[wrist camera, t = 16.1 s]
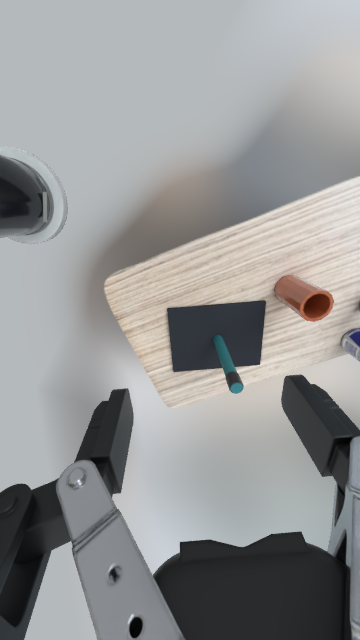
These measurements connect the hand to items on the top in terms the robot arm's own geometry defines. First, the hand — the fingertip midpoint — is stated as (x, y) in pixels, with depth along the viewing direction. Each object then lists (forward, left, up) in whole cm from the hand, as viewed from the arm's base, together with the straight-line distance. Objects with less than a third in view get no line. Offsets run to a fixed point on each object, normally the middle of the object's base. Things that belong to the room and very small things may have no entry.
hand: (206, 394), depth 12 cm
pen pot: (+19, -5, -30) cm, 36 cm away
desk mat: (+6, -14, -30) cm, 34 cm away
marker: (+6, -14, -22) cm, 27 cm away
